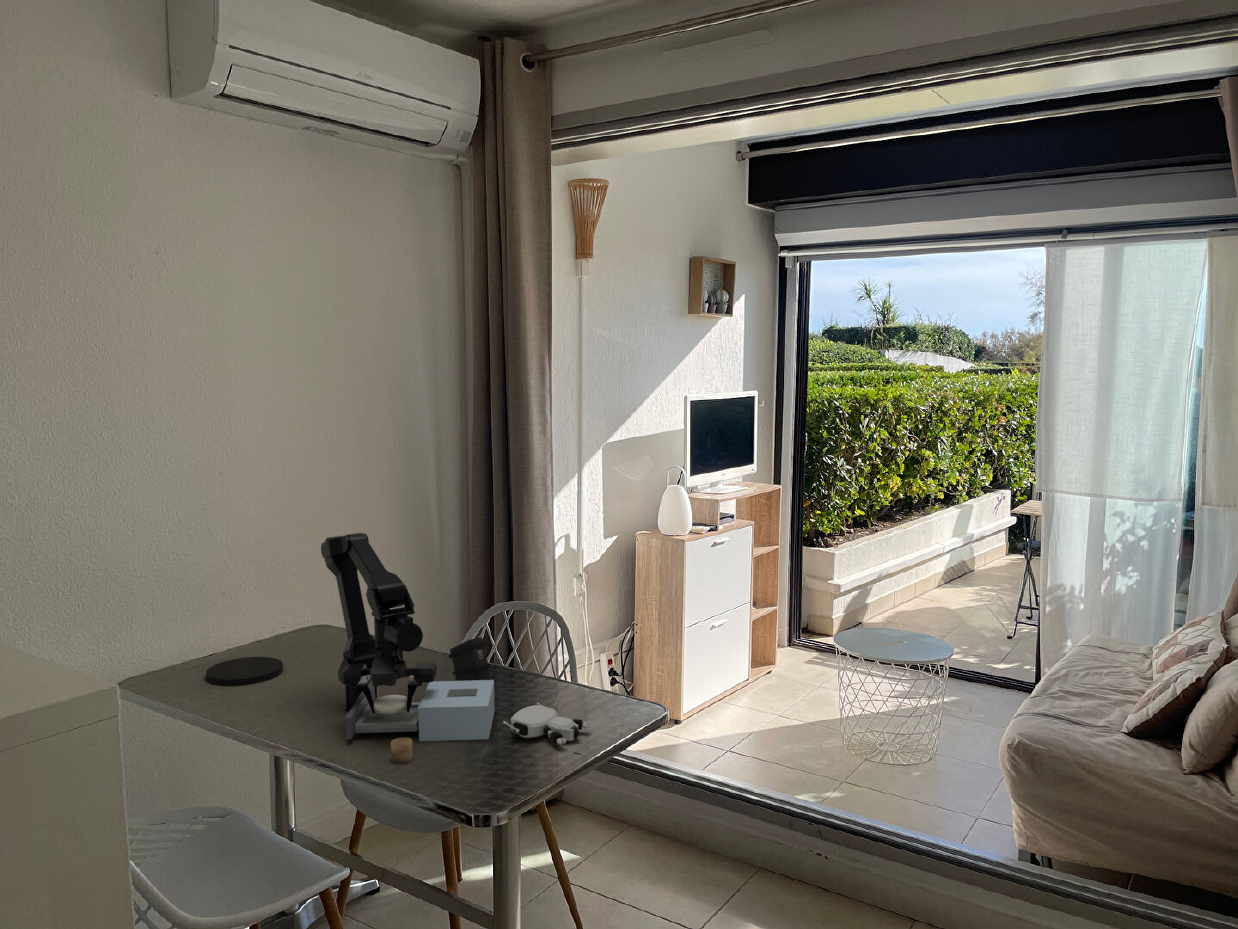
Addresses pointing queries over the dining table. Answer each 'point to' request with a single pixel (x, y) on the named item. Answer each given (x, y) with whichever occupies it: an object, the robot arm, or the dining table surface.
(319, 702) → the dining table surface
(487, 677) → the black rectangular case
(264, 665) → the wireless charger
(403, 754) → the tan short cylinder
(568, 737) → the robot toy
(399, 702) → the cream disc
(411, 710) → the tray
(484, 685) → the box
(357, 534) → the robot arm
